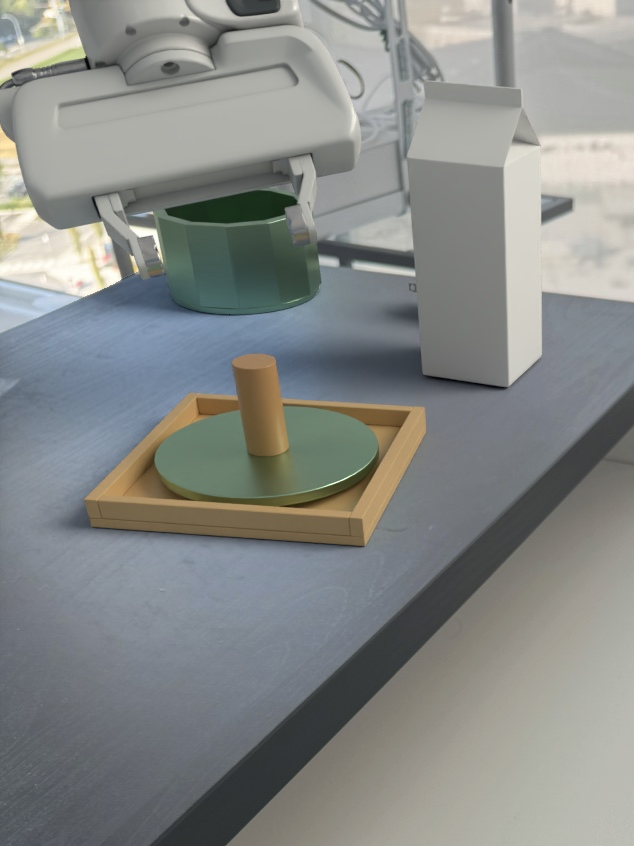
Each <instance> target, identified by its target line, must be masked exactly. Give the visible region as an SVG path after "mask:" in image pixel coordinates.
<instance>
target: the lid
mask: <svg viewBox="0 0 634 846" xmlns="http://www.w3.org/2000/svg"><path fill="white" fill-rule="evenodd" d="M231 368H232V374H233V380H234V386H235V391H236V396H237V397H238V403H239V408H240V410H237V411H231V412H227V413H222V414H218V415H215V416H211V417H208V418H205V419H202V420H199V421H196V422H194V423H192V424H189V425H187V426H185V427H183V428H181V429H179V430H178V431H176V432H175V433H173V434H172V435H170V436H169V437H168V438H167V439H165V440H164V441H163V442H162V444H161V445H160V446H159V447H158V449H157V451H156V453H155V459H154V462H155V467H156V471H157V475H158V477H159V479H160V481H161V482H162V483H163V484H164V485H165V486H166V487H167V488H169V489H170V490H171V491H173V492H174V493H176V494H178V495H180V496H182V497H185V498H188V499H191V500H194V501H201V502H216V503H230V504H245V505H259V506H274V507H275V506H284V505H291V504H297V503H302V502H307V501H311V500H315V499H319V498H323V497H326V496H329V495H332V494H335V493H337V492H339V491H342V490H344V489H346V488H348V487H350V486H352V485H354V484H356V483H357V482H359V481H360V480H362V479H363V478H365V477H366V476H367V475H368V474H369V473H370V472H371V471H372V470H373V468H374V467H375V466H376V464H377V461H378V459H379V444H378V439H377V437H376V435H375V433H374V432H373V431H372V430H371V429H370V428H369V427H368V426H367V425H365V424H364V423H362V422H361V421H359V420H357V419H355V418H352V417H350V416H347V415H344V414H341V413H338V412H334V411H329V410H324V409H318V408H309V407H295V406H283V404H282V399H283V397H282V391H281V386H280V385H281V384H280V379H279V378H280V377H279V371H278V366H277V360H276V358H275V357H274V356H273V355H270V354H266V353H247V354H244V355H243V354H242V355H240V356H237V357H235V358H233V359H232V361H231Z"/></svg>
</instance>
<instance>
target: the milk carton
mask: <svg viewBox="0 0 634 846" xmlns="http://www.w3.org/2000/svg"><path fill="white" fill-rule="evenodd" d="M423 90H424V91H423V92H424V101H423V103H422V107H421V110H420V113H419V116H418V119H417V122H416V126H415V129H414V131H413V132H414V133H413V134H412V138H411V142H410V145H409V148H408V151H407V154H406V162H407V177H408V190H409V191H408V193H409V206H410V218H411V235H412V246H413V248H412V249H413V261H414V272H415V273H414V275H415V283H416V290H417V293H416V300H417V301H416V303H417V314H418V315H417V316H418V330H419V341H420V342H419V343H420V356H421V370H422V374H423V375H424V376H429V377H436V378H442V379H449V380H456V381H463V382H469V383H476V384H482V385H488V386H496V387H503V388H509V387H510V386H512V385H513V384H514V383H515V382H516V381H517V380H518V379H519V378H520V377H521V376H522V375H523V374H524V373H526V371H528V369H530V368H531V367H532V366H533V365H534V364H535V363H536V362H537V361H538V360H539V359H540V358H541V357H542V356H543V319H542V318H543V309H542V308H543V301H542V297H543V295H542V292H543V289H542V288H543V287H542V286H543V285H542V284H543V283H542V282H543V281H542V279H543V278H542V275H543V274H542V153H541V152H542V151H541V150H542V149H541V147H542V146H541V143H540V141H539V138H538V136H537V134H536V132H535V130H534V128H533V125H532V123H531V121H530V119H529V117H528V115H527V113H526V111H525V108H524V105H523V104H524V103H523V102H524V98H523V88H520V87H508V86H497V85H487V84H486V85H485V84H474V83H462V82H451V81H439V80H428V79H427V80H423Z"/></svg>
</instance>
